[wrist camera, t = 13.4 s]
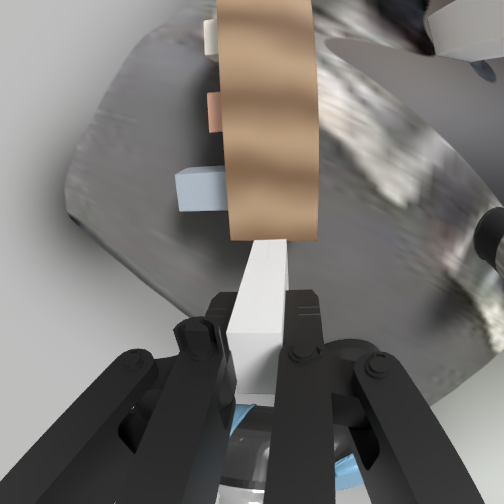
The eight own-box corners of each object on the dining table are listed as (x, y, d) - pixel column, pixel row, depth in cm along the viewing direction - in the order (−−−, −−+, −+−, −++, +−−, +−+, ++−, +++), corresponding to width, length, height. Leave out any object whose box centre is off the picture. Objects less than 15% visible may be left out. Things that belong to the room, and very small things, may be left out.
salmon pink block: (302, 127, 28) (304, 129, 25) (219, 130, 29) (209, 132, 26) (301, 92, 26) (303, 88, 23) (216, 95, 28) (206, 93, 24)
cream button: (299, 57, 25) (301, 49, 21) (215, 62, 26) (205, 55, 22) (297, 25, 23) (298, 13, 19) (213, 31, 24) (203, 20, 21)
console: (309, 205, 36) (316, 241, 26) (247, 205, 37) (230, 240, 27) (304, 21, 25) (309, -15, 16) (237, 24, 27) (216, -10, 17)
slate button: (267, 199, 32) (264, 210, 29) (191, 200, 33) (179, 211, 30) (266, 164, 31) (263, 170, 27) (187, 167, 32) (175, 174, 28)
